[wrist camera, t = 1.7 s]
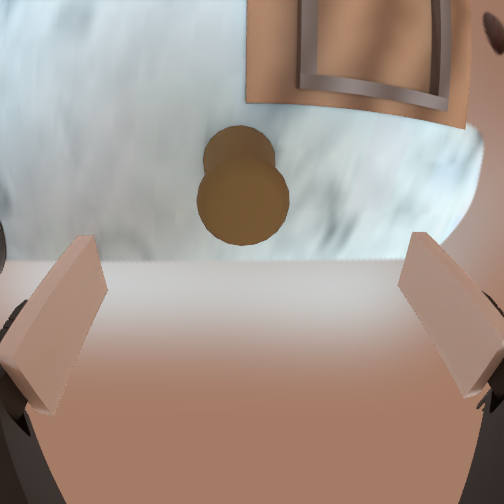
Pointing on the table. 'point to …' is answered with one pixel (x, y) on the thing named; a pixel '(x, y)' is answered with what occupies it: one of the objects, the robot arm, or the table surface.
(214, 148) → the brown tall rounded piece
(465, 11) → the board
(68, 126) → the table surface
